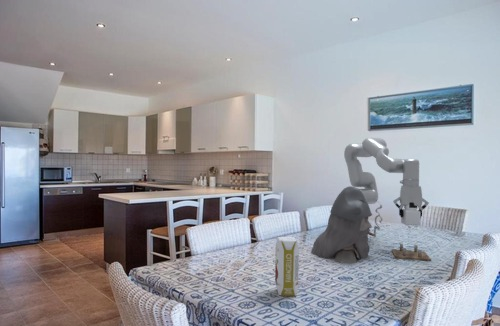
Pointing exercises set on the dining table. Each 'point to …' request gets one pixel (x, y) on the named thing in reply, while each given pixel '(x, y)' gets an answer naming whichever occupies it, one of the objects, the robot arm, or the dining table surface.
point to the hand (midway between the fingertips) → (410, 217)
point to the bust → (347, 228)
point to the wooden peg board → (410, 254)
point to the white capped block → (410, 215)
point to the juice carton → (287, 266)
